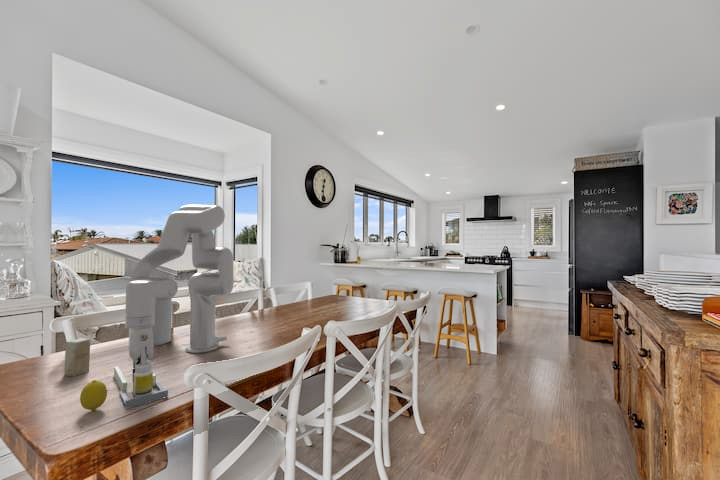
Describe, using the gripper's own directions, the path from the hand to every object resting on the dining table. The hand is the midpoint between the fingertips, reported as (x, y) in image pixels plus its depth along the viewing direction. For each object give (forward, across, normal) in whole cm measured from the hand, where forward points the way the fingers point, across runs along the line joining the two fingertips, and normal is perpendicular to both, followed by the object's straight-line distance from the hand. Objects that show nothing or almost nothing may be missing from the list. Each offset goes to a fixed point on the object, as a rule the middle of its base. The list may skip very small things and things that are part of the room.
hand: (139, 381), depth 102 cm
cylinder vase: (+2, +49, -14) cm, 51 cm away
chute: (+2, +7, 0) cm, 8 cm away
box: (+2, +27, +13) cm, 30 cm away
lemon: (+2, -8, +12) cm, 14 cm away
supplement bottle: (+2, -5, 0) cm, 6 cm away
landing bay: (+2, -7, 0) cm, 7 cm away
